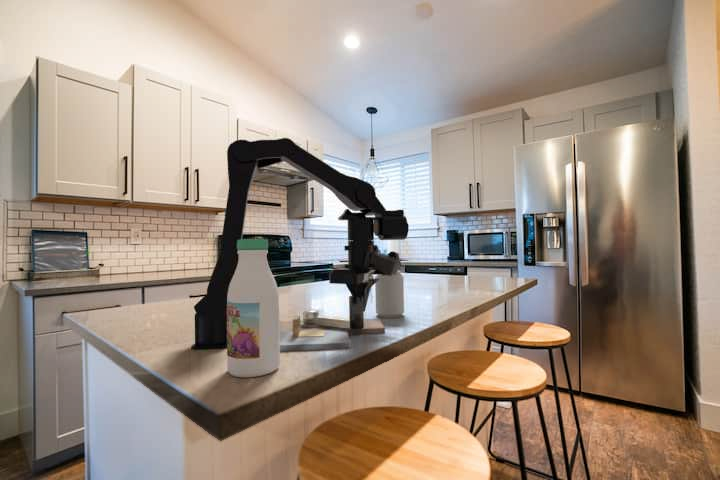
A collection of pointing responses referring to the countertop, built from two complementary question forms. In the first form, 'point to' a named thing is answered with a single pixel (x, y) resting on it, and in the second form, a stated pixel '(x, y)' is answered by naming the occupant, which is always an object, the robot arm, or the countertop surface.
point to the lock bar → (352, 322)
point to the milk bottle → (253, 313)
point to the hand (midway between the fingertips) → (362, 311)
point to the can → (389, 295)
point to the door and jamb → (321, 334)
